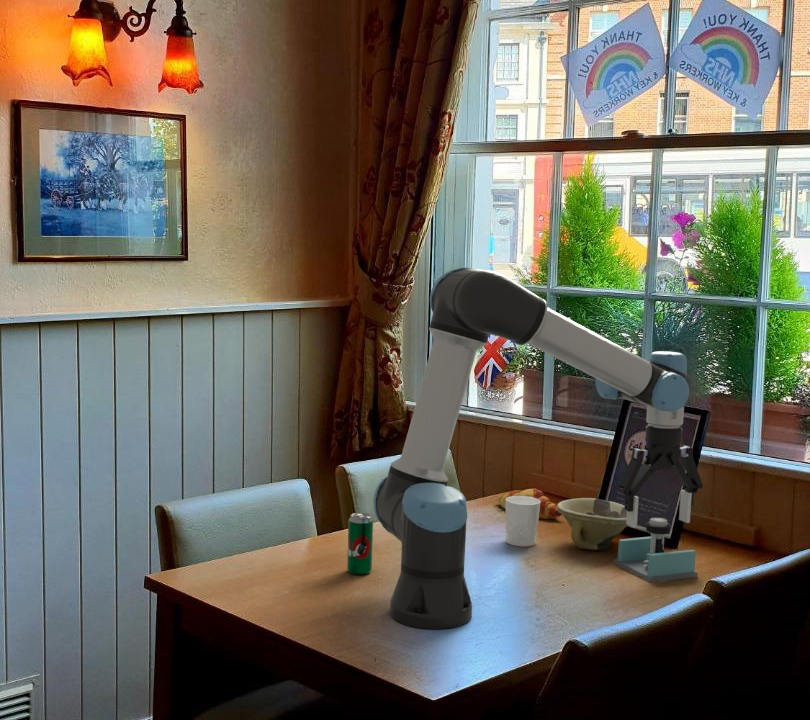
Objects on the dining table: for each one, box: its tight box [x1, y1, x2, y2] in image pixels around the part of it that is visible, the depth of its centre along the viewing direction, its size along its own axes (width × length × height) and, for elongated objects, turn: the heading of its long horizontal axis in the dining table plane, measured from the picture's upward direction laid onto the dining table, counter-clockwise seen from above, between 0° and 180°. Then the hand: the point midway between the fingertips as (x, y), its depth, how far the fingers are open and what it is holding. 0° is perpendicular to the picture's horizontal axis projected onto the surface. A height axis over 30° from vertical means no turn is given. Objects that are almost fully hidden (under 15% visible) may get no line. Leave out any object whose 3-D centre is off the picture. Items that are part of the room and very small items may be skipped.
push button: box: [643, 517, 672, 567], centre depth 225 cm, size 7×5×10 cm
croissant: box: [496, 488, 563, 520], centre depth 270 cm, size 21×10×8 cm, turn 44°
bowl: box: [556, 497, 639, 552], centre depth 242 cm, size 18×18×10 cm
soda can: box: [346, 512, 374, 576], centre depth 218 cm, size 5×5×12 cm
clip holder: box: [613, 535, 699, 583], centre depth 226 cm, size 12×13×6 cm
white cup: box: [505, 496, 540, 548], centre depth 243 cm, size 8×8×10 cm
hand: (658, 523), depth 225 cm, fingers open, 13 cm apart
